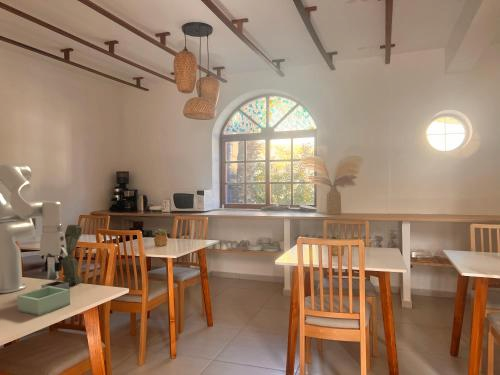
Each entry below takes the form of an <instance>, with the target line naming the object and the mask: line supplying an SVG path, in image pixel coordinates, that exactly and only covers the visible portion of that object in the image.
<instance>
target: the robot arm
mask: <svg viewBox="0 0 500 375" xmlns="http://www.w3.org/2000/svg"><path fill="white" fill-rule="evenodd" d="M32 174H33V173H32V170H31V168H30V167H29V166H28V165H26V164H23V163H22V164H21V163H20V164H19V163H18V164H17V163H3V164H1V165H0V184H1V185H2V184H3V185H4V186H5V188H6V189H7V190H8V191H9V192H10V195H9V201H8V200H6V199H5V197H4V195H3V192H2V191H0V294H9V293H13V292H17V291H18V292H19V291H21V290H23V289H25V288H26V287H27V283H24V282H23V274H22V273H23V271H22V256H21V254H22V253H21V251H22V250H21V248H20V247H19V246H18V245H17V243H16V242H22V241H25V240H26V241H27V240H30V239H31V238H33V237H34V236H35V233H36V227H35V225H34V222H33V219H38V218H39V219H40V218H41V226H42V228H41V229H42V231H41V234H40V242H39V251H38V254H37V255H38V256H40V258H41V259H42V260H43V263H44V271H45V272H48V265H47V255H48V253H50V254H51V255H53V256H55V259H56V263H55V272H58V271H59V272H60V271H63V267H62V264H61V262H62V261H63V259H64V258H65V257H66V256H68V254H67V252H66V240H65V233H64V227H63V222H62V221H63V219H62V218H63V217H62V203H61V202H60V201H56V200H54V201H53V200H44V199H43V200H32V201H31V200H30V201H26V199H24V198H23V196H25V195H26V194H28V193H29V192H30V190H31V188H32V184H31V183H30V180H31V178H32ZM62 254H63V255H62ZM58 256H59V258H58Z"/></svg>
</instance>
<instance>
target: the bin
mask: <svg viewBox="0 0 500 375" xmlns="http://www.w3.org/2000/svg"><path fill="white" fill-rule="evenodd" d="M16 300H17V311H18V312H20V313H23V314H24V313H25V314H28V315H33V316H37V317H39V316H42V315H45V314H46V315H47V313H51V312H53V311H56V310H59V309H62V308H64V307H67V306H69V305H71V290H68V289H62V288H57V287H51V286H48V287H45V288H42V289H41V288H39V289H36V290H31V291H28V292H26V293H22V294H18V295H17V296H16Z"/></svg>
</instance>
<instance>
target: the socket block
mask: <svg viewBox="0 0 500 375" xmlns="http://www.w3.org/2000/svg"><path fill="white" fill-rule="evenodd" d="M48 286H51V287H57V288H62V289H68V290H70V288H71V287H69V282H64V281H63V280H55V281H52V282H48V283H45V284H42V285H41V287H40V289H42V288H45V287H48ZM70 291H71V290H70Z"/></svg>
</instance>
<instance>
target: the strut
mask: <svg viewBox="0 0 500 375" xmlns="http://www.w3.org/2000/svg"><path fill="white" fill-rule="evenodd" d="M58 258H59V256H58ZM55 263H56V259H55V256H53V255H51V254H50V253H48V255H47V265H48V271H47V279H48V280H55V279H56V280H58V279H59V278H60V271H58V272H55Z"/></svg>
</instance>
